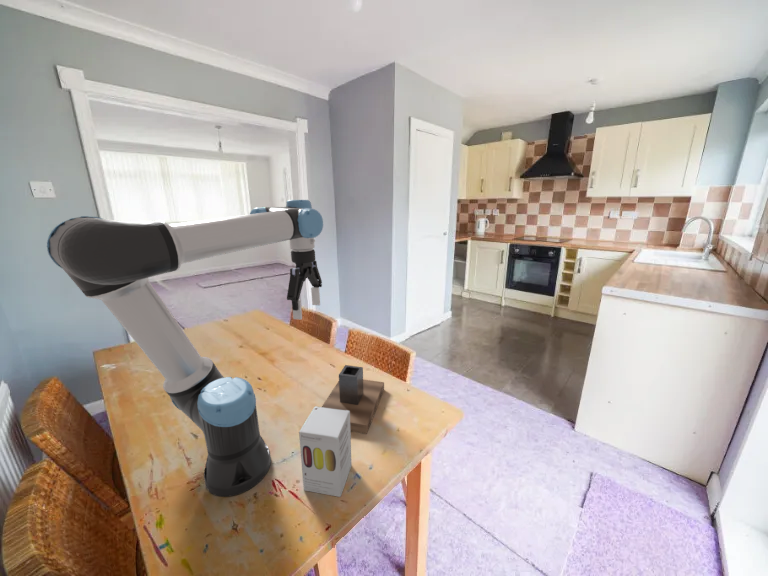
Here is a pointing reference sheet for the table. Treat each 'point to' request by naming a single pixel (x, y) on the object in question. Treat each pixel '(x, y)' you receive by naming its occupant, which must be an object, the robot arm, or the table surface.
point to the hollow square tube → (351, 384)
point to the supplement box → (326, 450)
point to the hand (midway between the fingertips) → (307, 311)
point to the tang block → (359, 405)
